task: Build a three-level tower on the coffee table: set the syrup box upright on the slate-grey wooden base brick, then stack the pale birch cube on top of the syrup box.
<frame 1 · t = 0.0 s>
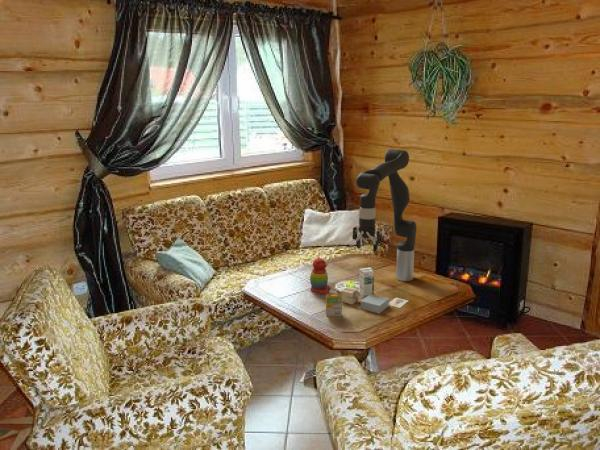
hand: (366, 249, 237), 29 cm above the table, fingers open, 8 cm apart
crayon box: (334, 315, 237), on the table
instruction page: (397, 302, 249), on the table
base brick: (374, 307, 244), on the table
syrup box: (366, 296, 258), on the table
stacking bear: (319, 290, 266), on the table
birch cube: (349, 301, 252), on the table
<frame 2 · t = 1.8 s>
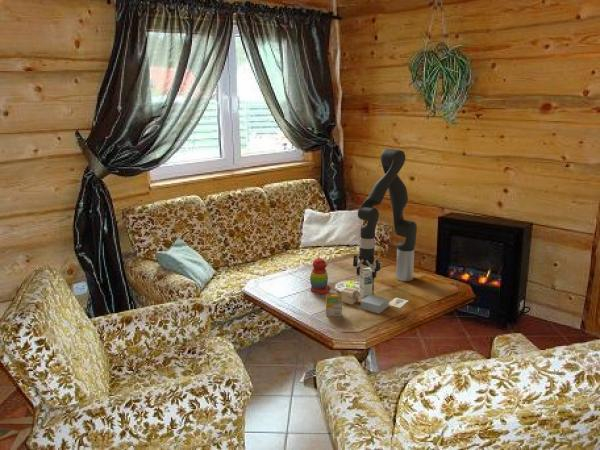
hand: (366, 276, 255), 11 cm above the table, fingers open, 8 cm apart
syrup box: (366, 296, 258), on the table, touching gripper
everything else where it was.
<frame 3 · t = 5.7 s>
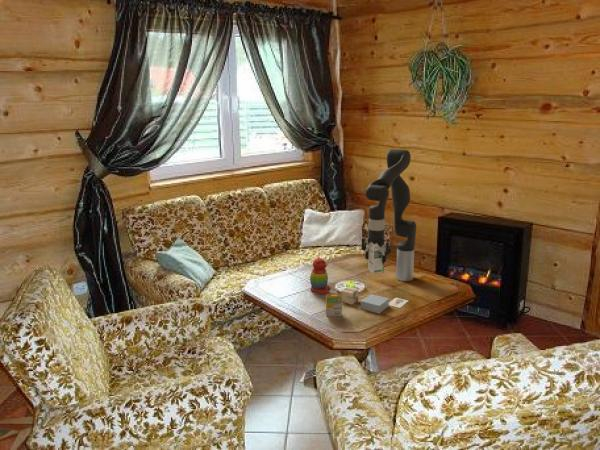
hand: (375, 260, 238), 24 cm above the table, fingers closed on syrup box, 8 cm apart
syrup box: (376, 271, 240), point 18 cm above the table, touching gripper
everything else where it was.
when the fingers open (10 cm above the table, at t = 9.0 s): syrup box stays where it is, resting on base brick.
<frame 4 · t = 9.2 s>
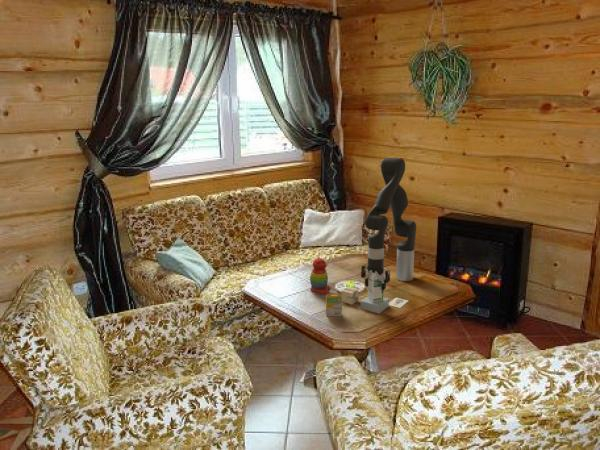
hand: (375, 288, 242), 10 cm above the table, fingers open, 8 cm apart
syrup box: (375, 299, 244), point 4 cm above the table, touching base brick, gripper
everything else where it was.
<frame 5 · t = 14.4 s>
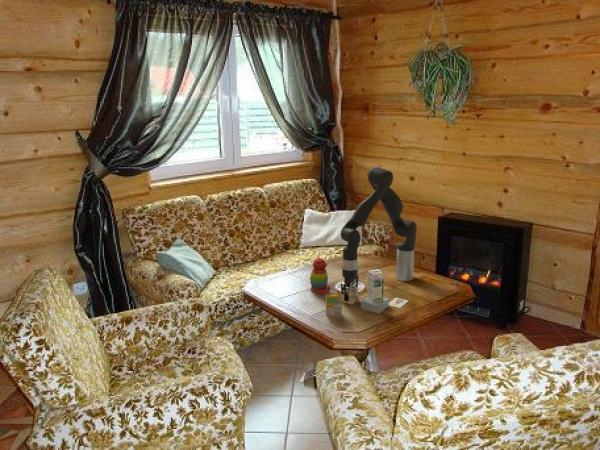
hand: (349, 298, 252), 1 cm above the table, fingers closed on birch cube, 6 cm apart
syrup box: (375, 299, 244), point 4 cm above the table, touching base brick
birch cube: (349, 300, 252), on the table, touching gripper
everything else where it was.
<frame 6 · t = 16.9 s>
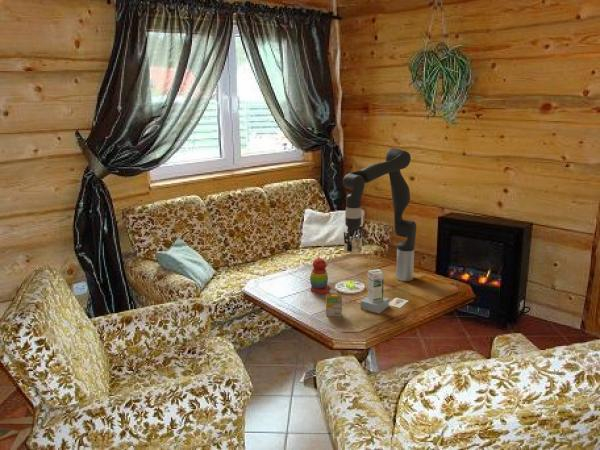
hand: (353, 249, 244), 27 cm above the table, fingers closed on birch cube, 6 cm apart
birch cube: (352, 251, 244), point 26 cm above the table, touching gripper
everything else where it was.
when the fingers open (21 cm above the table, at t = 19.8 s): birch cube drops 1 cm, resting on syrup box.
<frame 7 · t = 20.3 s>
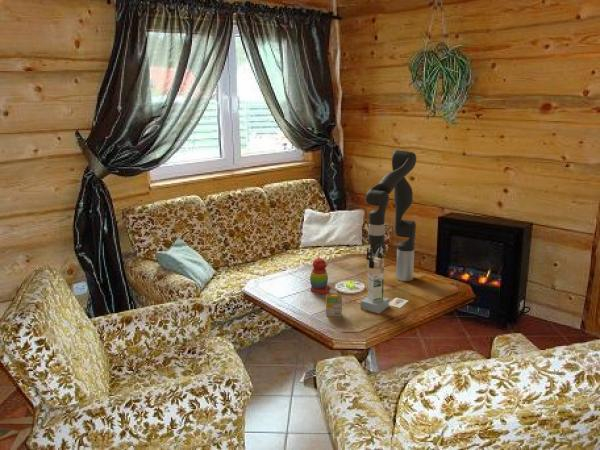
hand: (375, 265, 239), 22 cm above the table, fingers open, 8 cm apart
syrup box: (375, 299, 244), point 4 cm above the table, touching base brick, birch cube
birch cube: (375, 271, 239), point 19 cm above the table, touching syrup box
everything else where it was.
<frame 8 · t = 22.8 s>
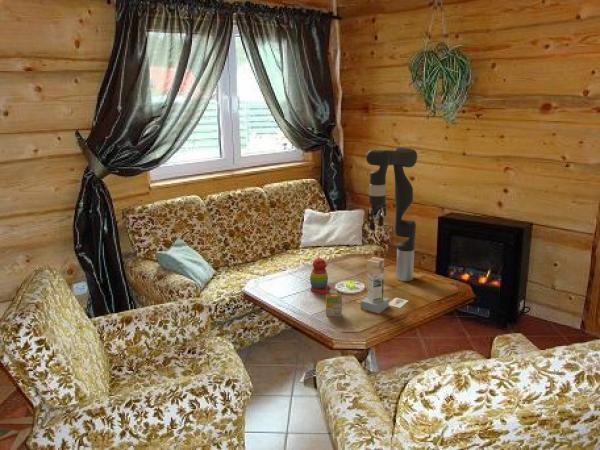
hand: (376, 227, 234), 40 cm above the table, fingers open, 8 cm apart
nothing on the table moved.
at the end: syrup box 0.5 cm from the base brick (horizontally); syrup box tilted 0°; birch cube inside the target area on the base brick (0.2 cm from its centre), point 18.5 cm above the base brick's base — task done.
